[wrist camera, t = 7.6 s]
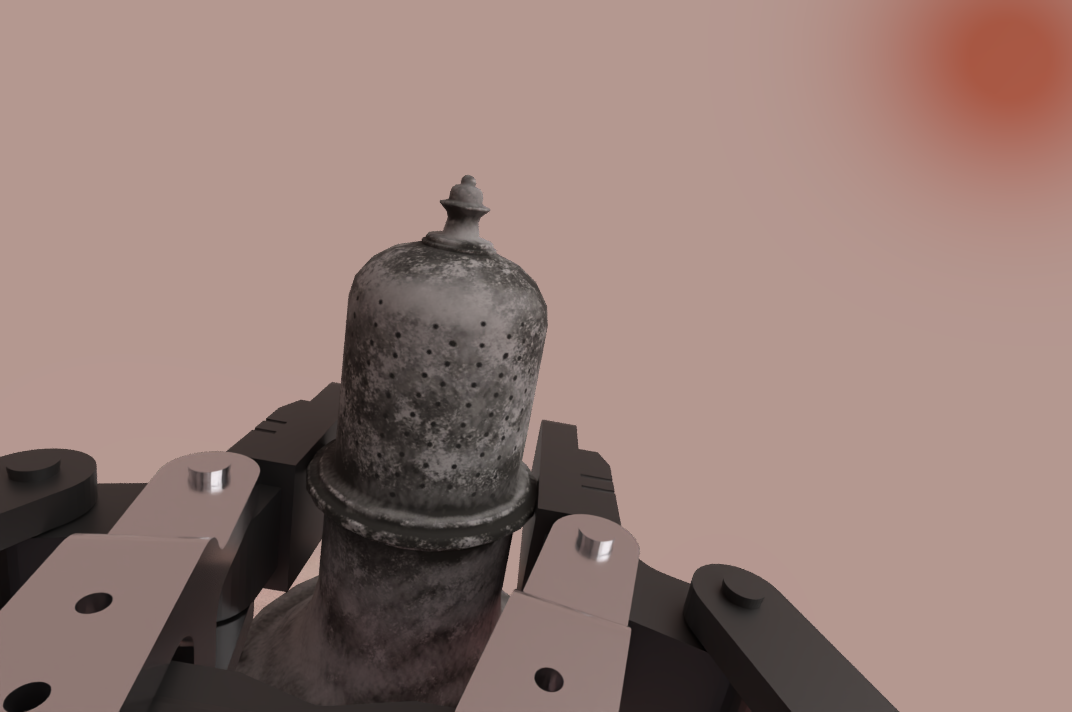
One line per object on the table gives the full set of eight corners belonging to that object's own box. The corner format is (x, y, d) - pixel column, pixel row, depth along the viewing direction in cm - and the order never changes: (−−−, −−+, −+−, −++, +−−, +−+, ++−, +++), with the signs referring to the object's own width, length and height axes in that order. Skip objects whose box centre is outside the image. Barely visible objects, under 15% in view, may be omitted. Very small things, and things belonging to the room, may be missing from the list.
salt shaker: (341, 651, 15) (392, 157, 11) (562, 746, 13) (695, 215, 10) (119, 904, 9) (90, 108, 6) (451, 1107, 8) (660, 219, 5)
